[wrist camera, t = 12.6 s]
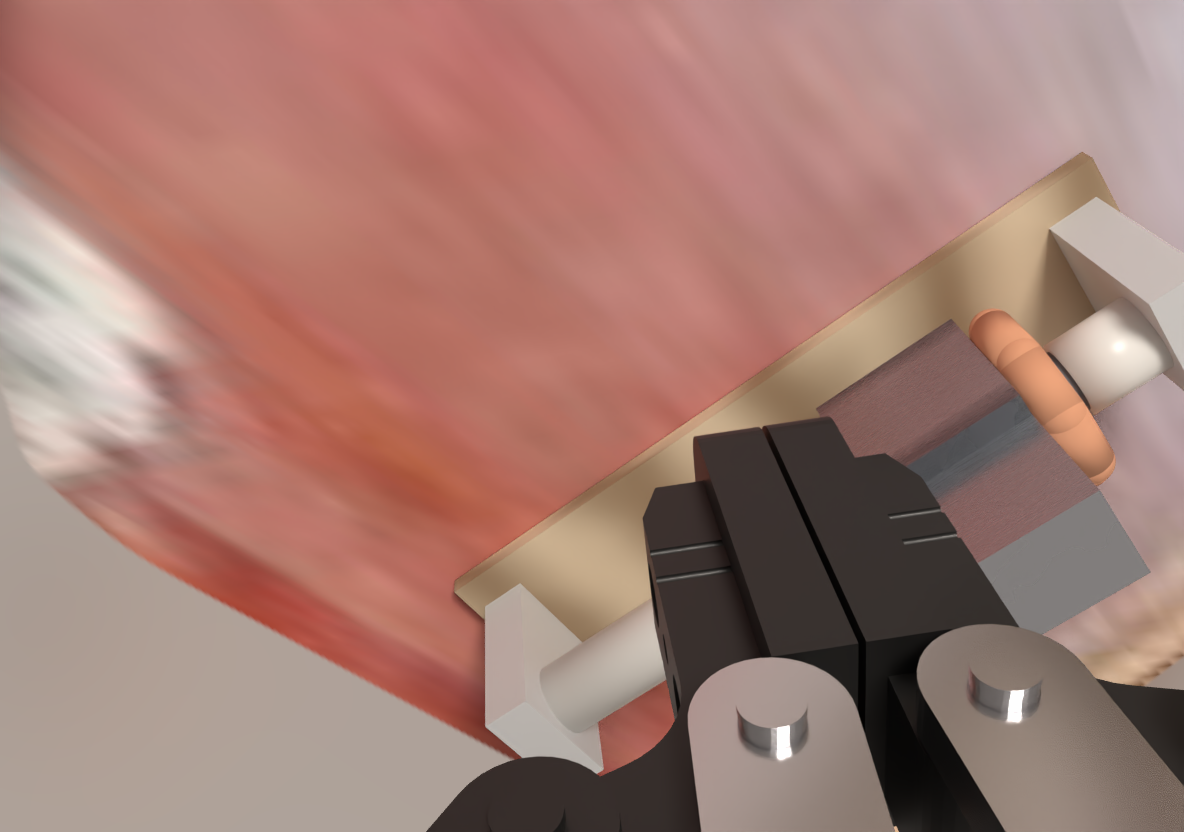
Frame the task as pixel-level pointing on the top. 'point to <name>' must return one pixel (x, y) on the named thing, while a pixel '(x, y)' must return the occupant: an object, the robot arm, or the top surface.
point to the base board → (800, 397)
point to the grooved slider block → (992, 476)
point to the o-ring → (1043, 391)
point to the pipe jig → (630, 645)
